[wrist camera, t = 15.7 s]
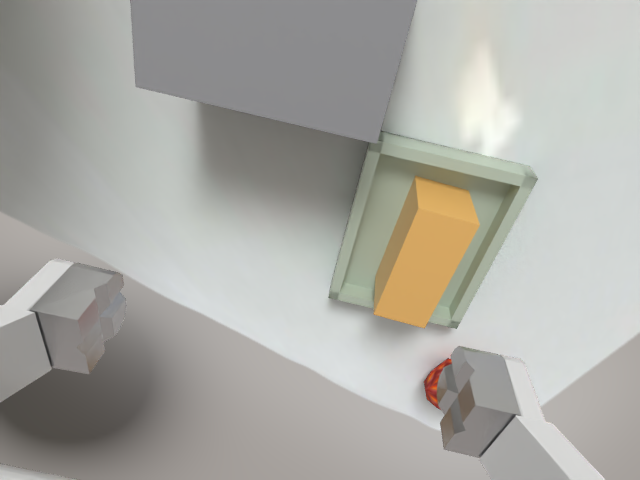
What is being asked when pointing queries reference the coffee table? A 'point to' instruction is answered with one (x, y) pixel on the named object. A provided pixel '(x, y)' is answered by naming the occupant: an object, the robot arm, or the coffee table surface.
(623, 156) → the coffee table surface
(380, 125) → the block
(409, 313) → the orange rectangular block
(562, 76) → the coffee table surface
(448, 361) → the red bumpy oval lump
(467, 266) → the tray
